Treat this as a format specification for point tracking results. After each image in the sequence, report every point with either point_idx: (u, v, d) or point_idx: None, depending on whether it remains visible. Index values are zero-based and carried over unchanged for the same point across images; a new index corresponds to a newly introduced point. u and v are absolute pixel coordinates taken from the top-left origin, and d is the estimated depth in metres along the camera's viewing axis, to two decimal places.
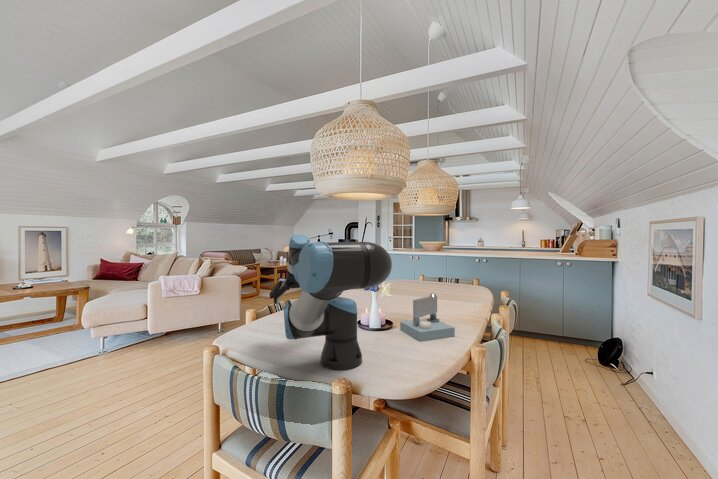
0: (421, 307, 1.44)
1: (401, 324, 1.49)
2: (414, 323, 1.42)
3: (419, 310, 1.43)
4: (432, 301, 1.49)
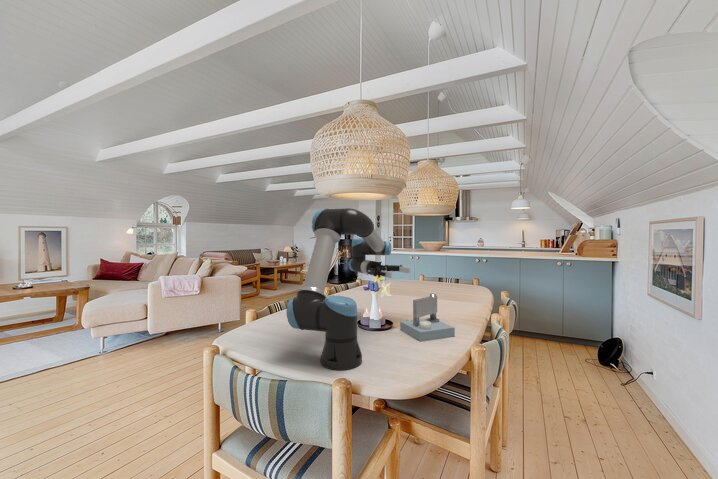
0: (421, 307, 1.44)
1: (401, 324, 1.49)
2: (414, 323, 1.42)
3: (419, 310, 1.43)
4: (432, 301, 1.49)
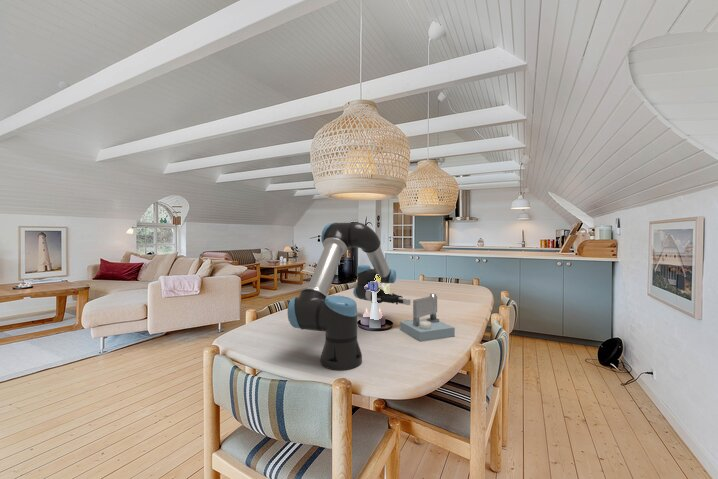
0: (421, 307, 1.44)
1: (401, 324, 1.49)
2: (414, 323, 1.42)
3: (419, 310, 1.43)
4: (432, 301, 1.49)
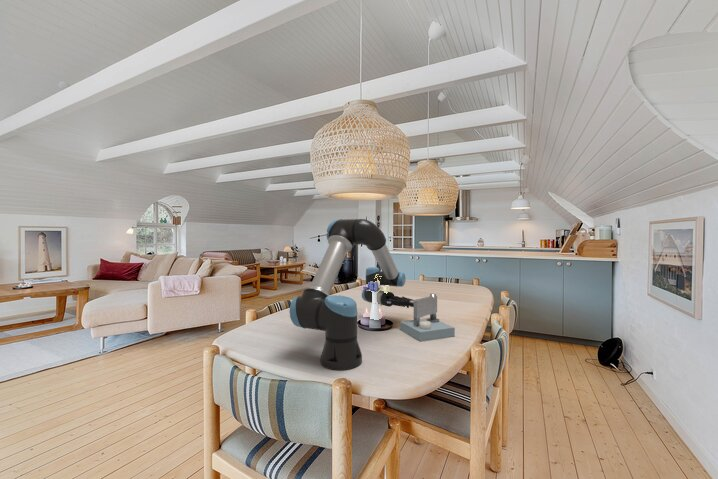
0: (421, 307, 1.43)
1: (401, 324, 1.49)
2: (414, 323, 1.42)
3: (420, 310, 1.43)
4: (432, 301, 1.49)
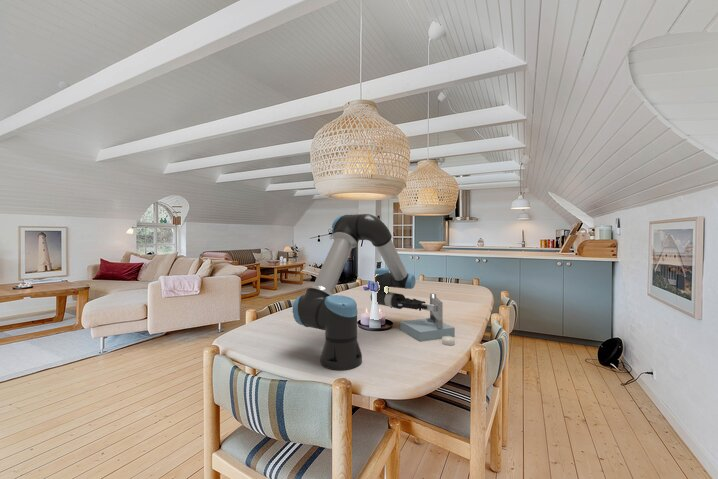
0: None
1: (401, 324, 1.49)
2: (439, 326, 1.37)
3: None
4: None
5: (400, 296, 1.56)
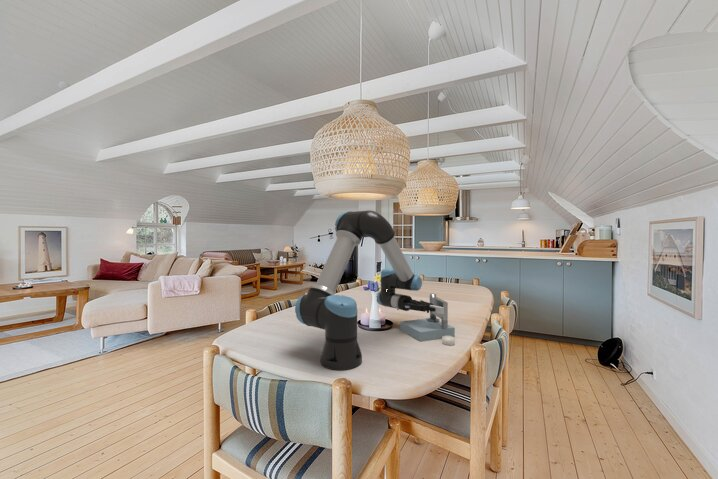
0: None
1: (401, 324, 1.49)
2: (445, 326, 1.37)
3: None
4: None
5: (407, 298, 1.51)
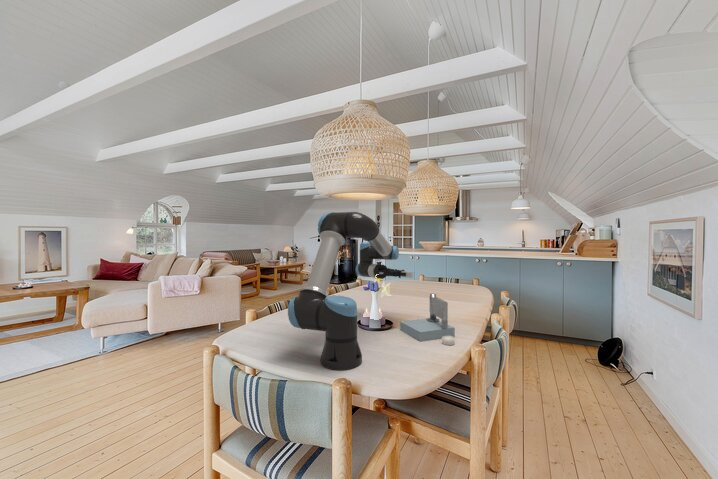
0: None
1: (401, 324, 1.49)
2: (445, 326, 1.37)
3: None
4: None
5: (382, 266, 1.64)
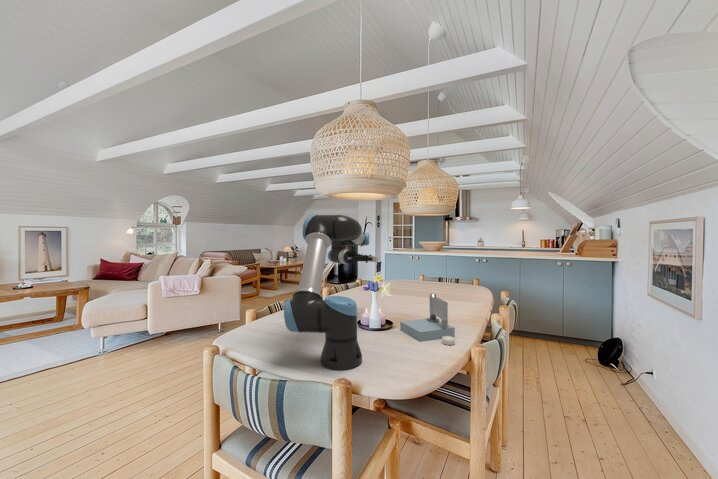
0: None
1: (401, 324, 1.49)
2: (445, 326, 1.37)
3: None
4: None
5: (351, 252, 1.69)
